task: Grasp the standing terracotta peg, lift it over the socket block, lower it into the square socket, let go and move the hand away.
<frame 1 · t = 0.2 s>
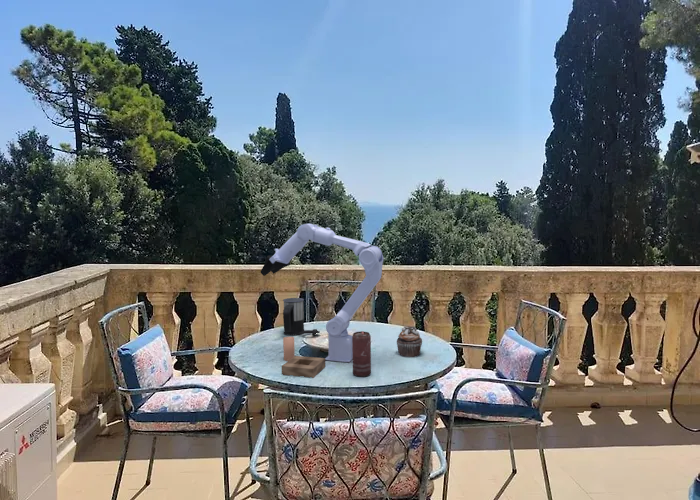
hand: (267, 272, 196), 31 cm above the table, tool tilted 45°, fingers open, 7 cm apart
can: (361, 374, 174), on the table
peg: (289, 359, 191), on the table
cupcake: (409, 354, 196), on the table
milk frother: (301, 334, 225), on the table
socket block: (304, 370, 178), on the table
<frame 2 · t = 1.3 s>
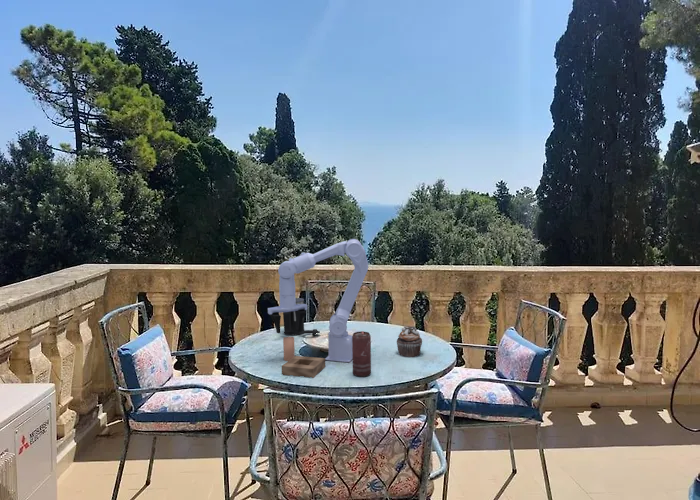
hand: (288, 331, 190), 10 cm above the table, tool pointing down, fingers open, 7 cm apart
nothing on the table moved.
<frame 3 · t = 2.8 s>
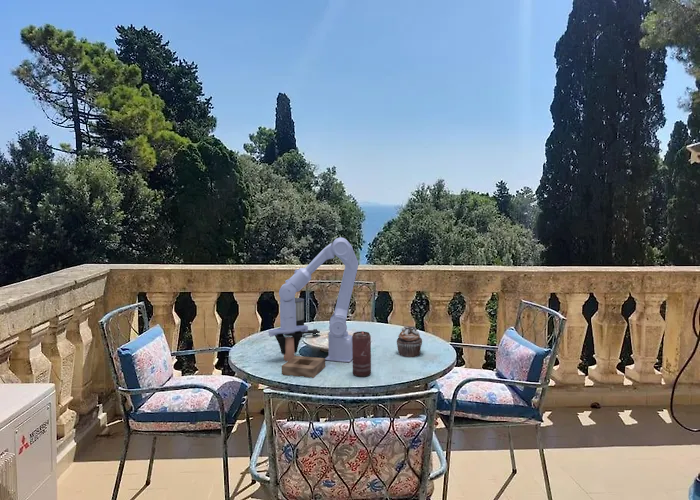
hand: (289, 352, 191), 2 cm above the table, tool pointing down, fingers closed on peg, 4 cm apart
peg: (289, 359, 191), on the table, touching gripper
everything else where it was.
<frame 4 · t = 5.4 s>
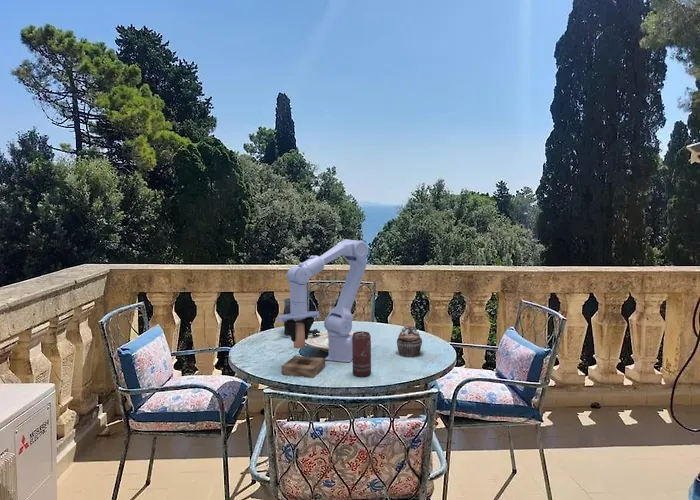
hand: (299, 339, 180), 10 cm above the table, tool pointing down, fingers closed on peg, 4 cm apart
peg: (299, 346, 181), point 7 cm above the table, touching gripper
everything else where it was.
when the fingers open (4 cm above the table, at t = 7.9 s): peg drops 1 cm, resting on socket block.
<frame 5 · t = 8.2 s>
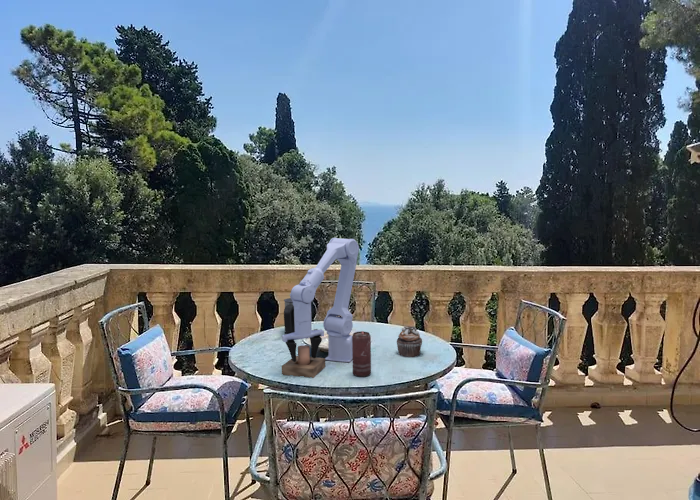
hand: (303, 359, 178), 4 cm above the table, tool pointing down, fingers open, 7 cm apart
peg: (304, 369, 179), resting on socket block
everything else where it was.
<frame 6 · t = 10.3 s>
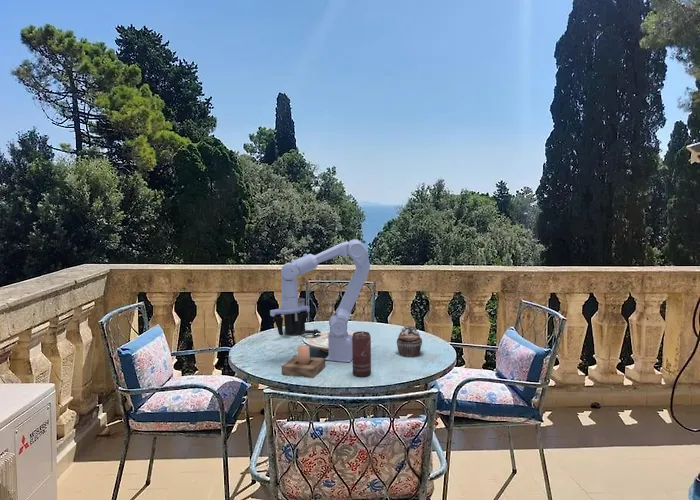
hand: (290, 333, 189), 10 cm above the table, tool pointing down, fingers open, 7 cm apart
nothing on the table moved.
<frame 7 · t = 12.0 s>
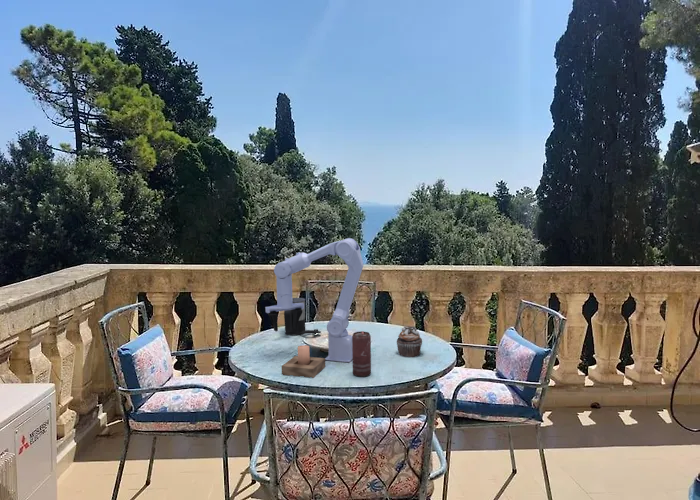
hand: (285, 329, 195), 10 cm above the table, tool pointing down, fingers open, 7 cm apart
nothing on the table moved.
at the end: peg 0.0 cm off-centre on the socket block, point 0.3 cm above the socket block's base; peg tilted 0°; the gripper is holding nothing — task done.
